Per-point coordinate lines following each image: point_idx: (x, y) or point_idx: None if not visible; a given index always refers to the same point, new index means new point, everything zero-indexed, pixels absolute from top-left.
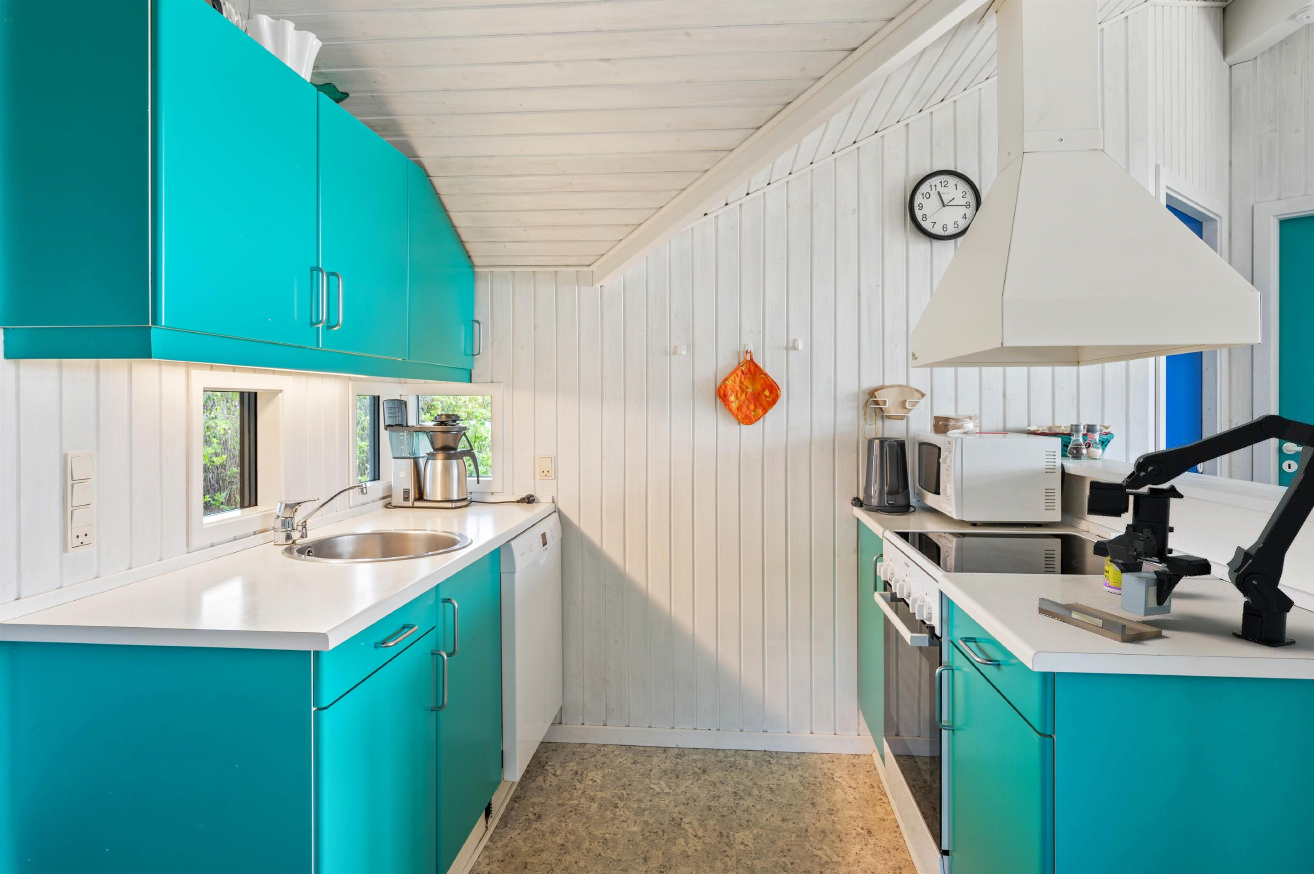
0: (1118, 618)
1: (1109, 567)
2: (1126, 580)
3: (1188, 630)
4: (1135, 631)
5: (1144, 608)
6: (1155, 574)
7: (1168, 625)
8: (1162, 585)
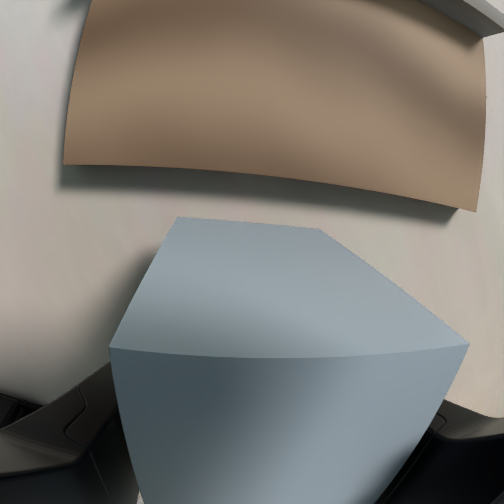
0: (267, 130)
1: None
2: (384, 310)
3: (104, 350)
4: (103, 15)
5: (170, 229)
6: (24, 466)
7: None
8: (56, 409)
